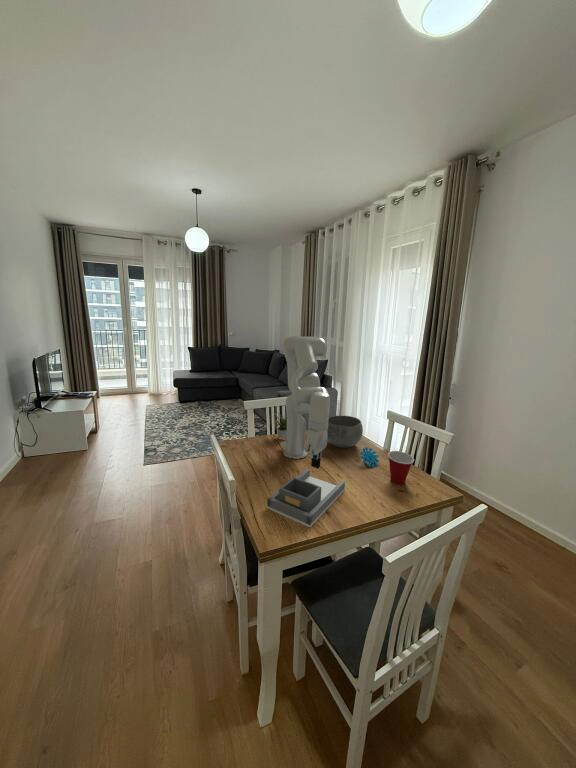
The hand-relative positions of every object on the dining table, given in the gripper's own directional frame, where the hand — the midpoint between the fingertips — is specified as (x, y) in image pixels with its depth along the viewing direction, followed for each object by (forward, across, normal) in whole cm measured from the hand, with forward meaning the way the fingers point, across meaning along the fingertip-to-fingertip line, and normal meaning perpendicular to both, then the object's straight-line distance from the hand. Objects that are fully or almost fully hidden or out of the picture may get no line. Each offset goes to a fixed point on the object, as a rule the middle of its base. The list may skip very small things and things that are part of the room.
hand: (315, 466), depth 122 cm
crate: (+9, +13, +1) cm, 16 cm away
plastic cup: (+11, -28, +26) cm, 40 cm away
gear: (+12, -36, +10) cm, 40 cm away
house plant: (+14, -36, -43) cm, 57 cm away
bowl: (+13, -49, -10) cm, 52 cm away
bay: (+10, +7, +1) cm, 13 cm away
